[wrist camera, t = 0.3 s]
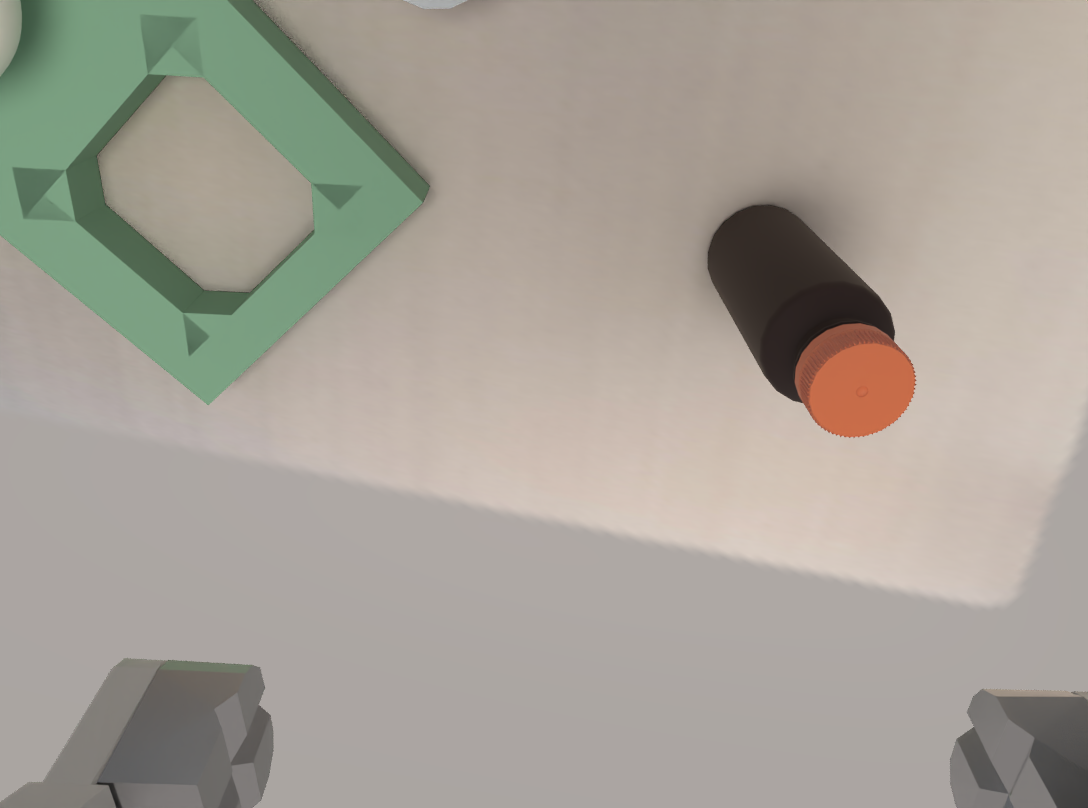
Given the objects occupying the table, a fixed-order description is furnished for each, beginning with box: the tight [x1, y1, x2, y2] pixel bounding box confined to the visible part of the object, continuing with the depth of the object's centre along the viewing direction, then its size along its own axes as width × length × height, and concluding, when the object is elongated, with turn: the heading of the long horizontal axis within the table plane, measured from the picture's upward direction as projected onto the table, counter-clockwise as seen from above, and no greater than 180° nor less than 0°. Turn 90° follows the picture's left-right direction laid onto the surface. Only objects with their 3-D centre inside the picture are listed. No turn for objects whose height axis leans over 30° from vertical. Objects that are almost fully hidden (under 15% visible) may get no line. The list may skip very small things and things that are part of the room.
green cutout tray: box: [0, 0, 430, 405], centre depth 50 cm, size 32×20×4 cm, turn 42°
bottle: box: [708, 205, 916, 438], centre depth 48 cm, size 7×7×20 cm
